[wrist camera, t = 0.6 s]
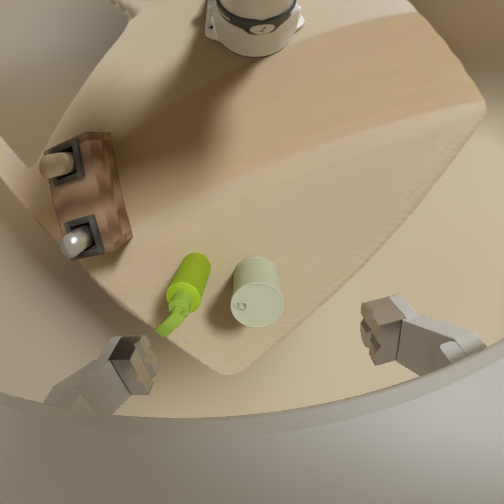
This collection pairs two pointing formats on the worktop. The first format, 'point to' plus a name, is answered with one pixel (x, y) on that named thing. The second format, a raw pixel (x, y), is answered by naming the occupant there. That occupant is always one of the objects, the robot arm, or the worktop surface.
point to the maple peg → (57, 164)
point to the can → (256, 293)
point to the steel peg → (76, 241)
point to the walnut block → (91, 193)
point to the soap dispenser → (185, 291)
